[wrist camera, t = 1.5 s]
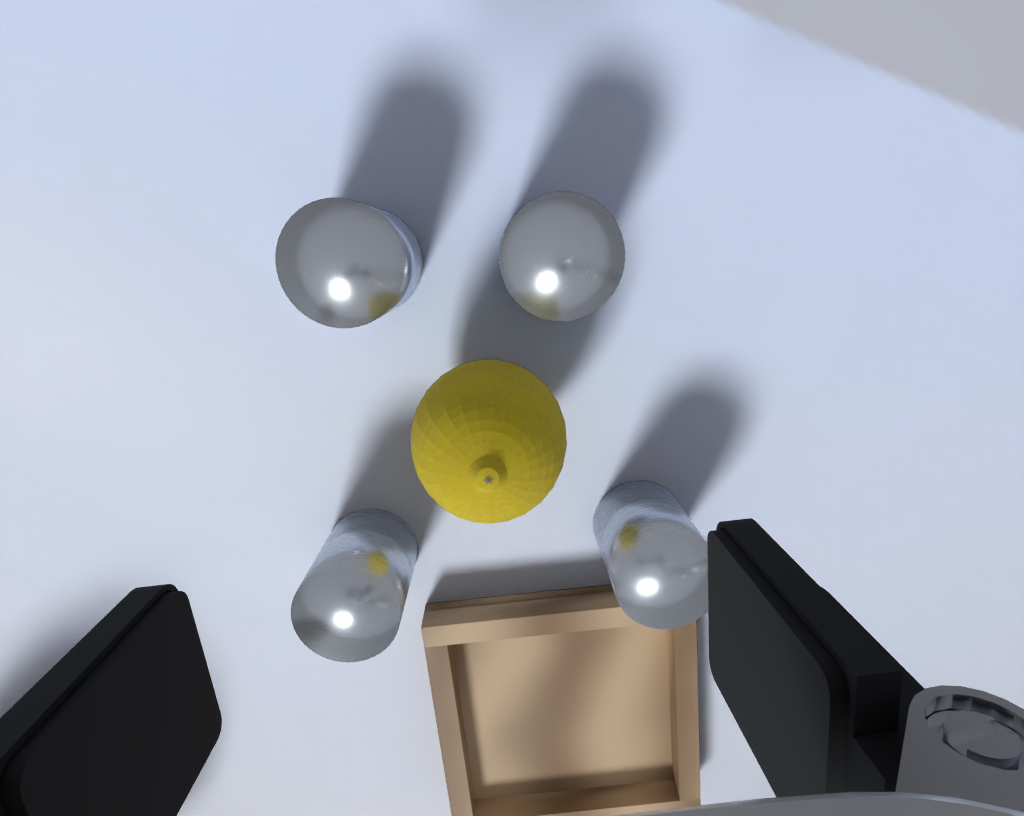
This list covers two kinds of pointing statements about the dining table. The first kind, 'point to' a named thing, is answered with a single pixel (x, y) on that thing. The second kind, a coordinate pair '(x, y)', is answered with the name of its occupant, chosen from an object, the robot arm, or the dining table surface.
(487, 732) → the tray
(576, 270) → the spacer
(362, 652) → the cylinder
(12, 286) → the dining table surface
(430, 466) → the lemon
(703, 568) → the cylinder
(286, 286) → the cylinder
